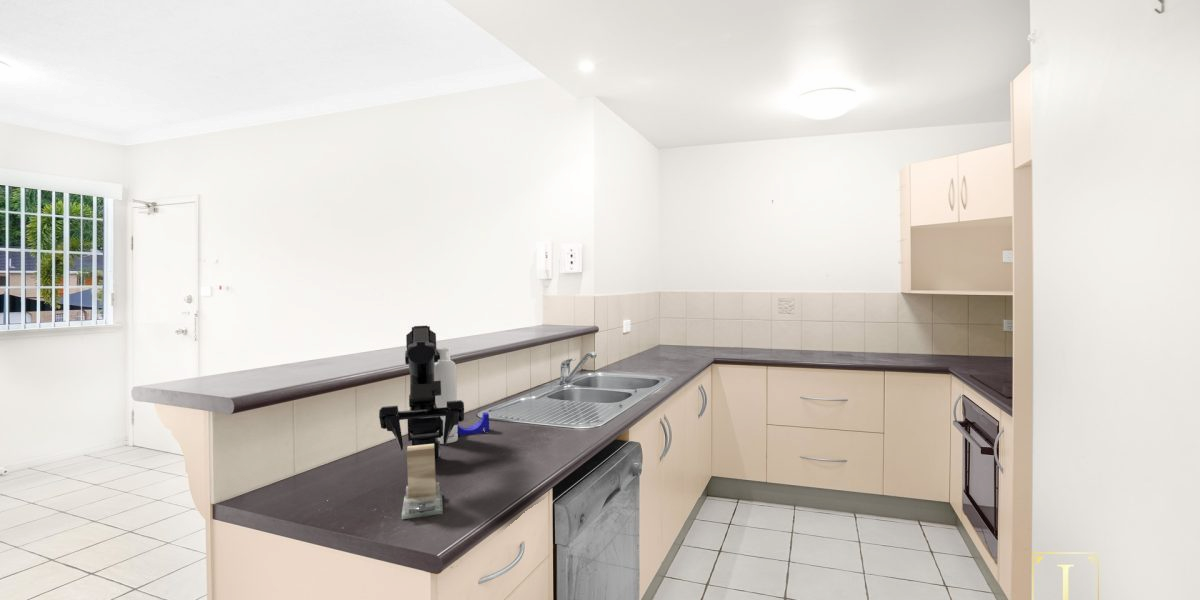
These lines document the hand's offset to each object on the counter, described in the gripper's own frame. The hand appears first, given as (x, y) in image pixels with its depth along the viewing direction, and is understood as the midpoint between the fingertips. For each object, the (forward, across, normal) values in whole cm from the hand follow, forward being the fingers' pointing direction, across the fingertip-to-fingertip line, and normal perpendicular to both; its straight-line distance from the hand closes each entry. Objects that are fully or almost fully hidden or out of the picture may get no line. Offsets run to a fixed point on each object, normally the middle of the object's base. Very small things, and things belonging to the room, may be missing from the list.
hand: (423, 447), depth 125 cm
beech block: (+12, 0, +2) cm, 12 cm away
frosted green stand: (+12, 0, +3) cm, 13 cm away
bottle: (-22, +5, +40) cm, 46 cm away
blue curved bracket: (-27, +13, +44) cm, 53 cm away
